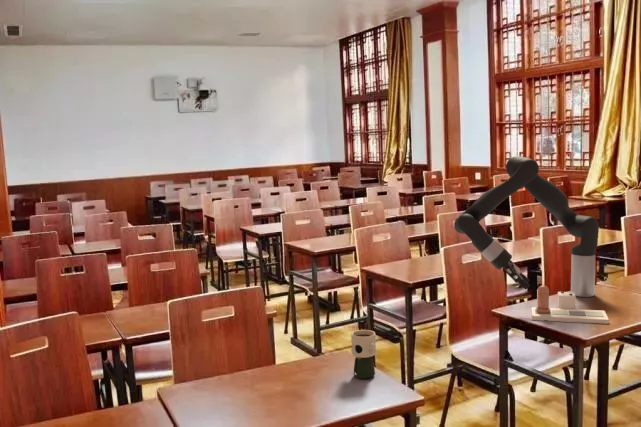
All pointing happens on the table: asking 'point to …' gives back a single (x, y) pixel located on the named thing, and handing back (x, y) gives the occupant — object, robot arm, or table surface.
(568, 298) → the die
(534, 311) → the game board
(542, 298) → the pawn
